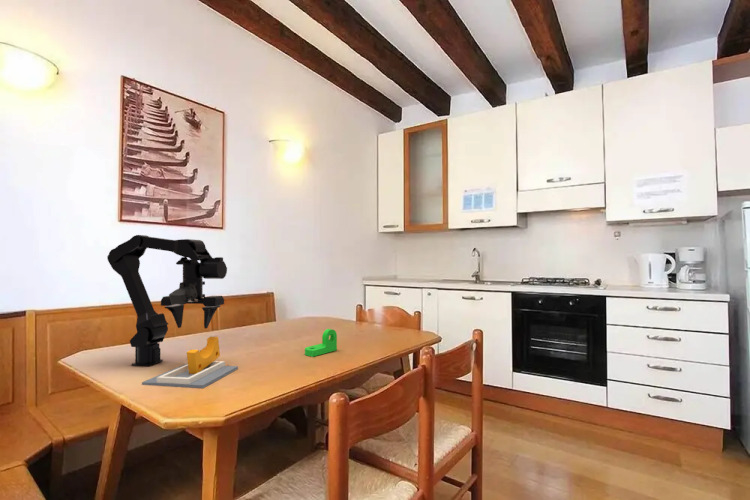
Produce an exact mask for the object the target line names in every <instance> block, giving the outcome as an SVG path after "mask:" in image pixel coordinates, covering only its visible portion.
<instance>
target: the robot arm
mask: <svg viewBox="0 0 750 500" xmlns="http://www.w3.org/2000/svg"><path fill="white" fill-rule="evenodd" d="M147 249H152V250H159V251H166V252H172V253H174V254H176V255H177V256H180V258H179V260H178V261H176V263H175V264H176V265H179V266H180V265H182V282H179V287H178V288H177V289H175V290H173V291H172V292H171V293H169V294H168V295H167V296H162V298H161V300H160V306H161V307H163V306H164V308H165V309H167V310H168V311H169V312H170V313H171V314H172V316H173V319H174V321H175V325H176V326H177V328H178V329H181V328H182V325H183V318H184V317H183V316H184V311H185V310H184V307H185V305H186V304H189V305H190V304H196V305H197V304H200V305H204V306H203V307H201V309H202V311H203V328H204V329H208V327H209V325H210V323H211V321H212V319H213V316H214V315H215V313H216V311H217V310H218V308H221V306H223V305H225V298H224V296H222V295H209V296H206V294H205V293H203V286H204V285H206V282H205V281H203V280H205V279H207V280H214V279H215V280H223V279H225V278H226V276H227V274H228V273H227V272H228V266H227V264H226V262H225V261H224V257H222V256H221V257H220V256H218V257H213V256H212V255H211V254H210V252H209V251H208V250H207V247H206V244H205V243H204V241H203V240H201V239H191V238H190V239H189V238H185V239H182V238H181V239H170V238H161V237H155V236H154V237H153V236H149V235H146V234H145V235H141V234H136V235H133V236H132V237H131V238H130V239H128V240H127V241H124V242H123V243H121V244H118V245H117V246H115V248H113V249H111V250H110V251H109V253H108V255H107V256H106V257H107V262H108V264H109V265H110V267H111V269H112V270H113V271H114V272H116V273H117V274H118V275H119V276H120V277H121V278H122V281H123V284H124V286H125V288H126V289H125V290H126V291H127V294H128V296H129V298H130V300H131V304H132V306H133V309H134V311H135V313H136V317H137V319H136V324H135V327H136V333H135V334H134V335H133V337H131V339H129V343H130V347H132V348H135V354H134V355H135V360H134V361H135V362H132V363H131V366H141V367H150V366H153V365H156V364H159V363H160V362H161V363H162V362H163V361H164V359H161V348H160V343H163V342H164V339H165V336H166V335H167V333H168V330H169V327H168V325H169V323H168V322H167V320H166V316H165V314H164V313H163V312H162V313H158V312H157V311H155V308H154V307H153V304H152V302H151V299H150V296H149V294H148V292H147V289H146V287H145V285H144V282H143V279H142V277H141V275H140V272H139V270H140V265H141V261H140V258H141V257H142V256H144V255H145V252H146V250H147Z"/></svg>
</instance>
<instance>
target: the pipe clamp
mask: <svg viewBox="0 0 750 500" xmlns="http://www.w3.org/2000/svg"><path fill="white" fill-rule="evenodd" d="M220 357H221V351H220V343H219V336H209V337H208V338H206V346H204V347H203V348H201V349H200V350H199V349H190V350H188V351H187V352H186V360H187V364H188V368H189V373H190V374H196V373H199V372H200V371H202V370H203V369H204V368H205V367H207V366H208V365H209V364H211V363H212V362H213V361H217V359H219V358H220Z"/></svg>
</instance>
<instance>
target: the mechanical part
mask: <svg viewBox="0 0 750 500" xmlns="http://www.w3.org/2000/svg"><path fill="white" fill-rule="evenodd" d="M337 337H338V335H337V331H336V330H335V329H331V328H326V329H325V330H324V331H323V333H322V337H321V338H322V339H321V340H322V343H318V344H313V345H311V346H307V347H304V355H305V356H307V357H308V356H309V357H312V358H313V357H317V356H320V355H324V354H327V353H331V352H335V351H337V350H338V340H337V339H338V338H337Z"/></svg>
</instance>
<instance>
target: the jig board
mask: <svg viewBox="0 0 750 500" xmlns="http://www.w3.org/2000/svg"><path fill="white" fill-rule="evenodd" d="M238 369H239V366H237V365H226V362H225V360H222V361H221V360H214V361H213V362H212V363H211V364H209V365H208V366H207V367H205V368H204V369H203V370H202V371H200V372H199V373H196V374H190V373H189V368H188V363H183V364H181V365H179V366H177V367H175V368H172V369H170V370H168V371H165V372H162V373H161V374H158V375H157V376H154V377H150V378H149V379H146V380H144V381H142V382H141V385H143V386H155V387H156V386H157V387H171V388H172V387H173V388H189V389H204V388H206V387H208V386H210V385H212V384H213V383H215V382H217V381H219V380H221V379H222V378H224V377H226V376H228V375H229V374H232V373H233V372H235V371H236V370H238Z"/></svg>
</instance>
